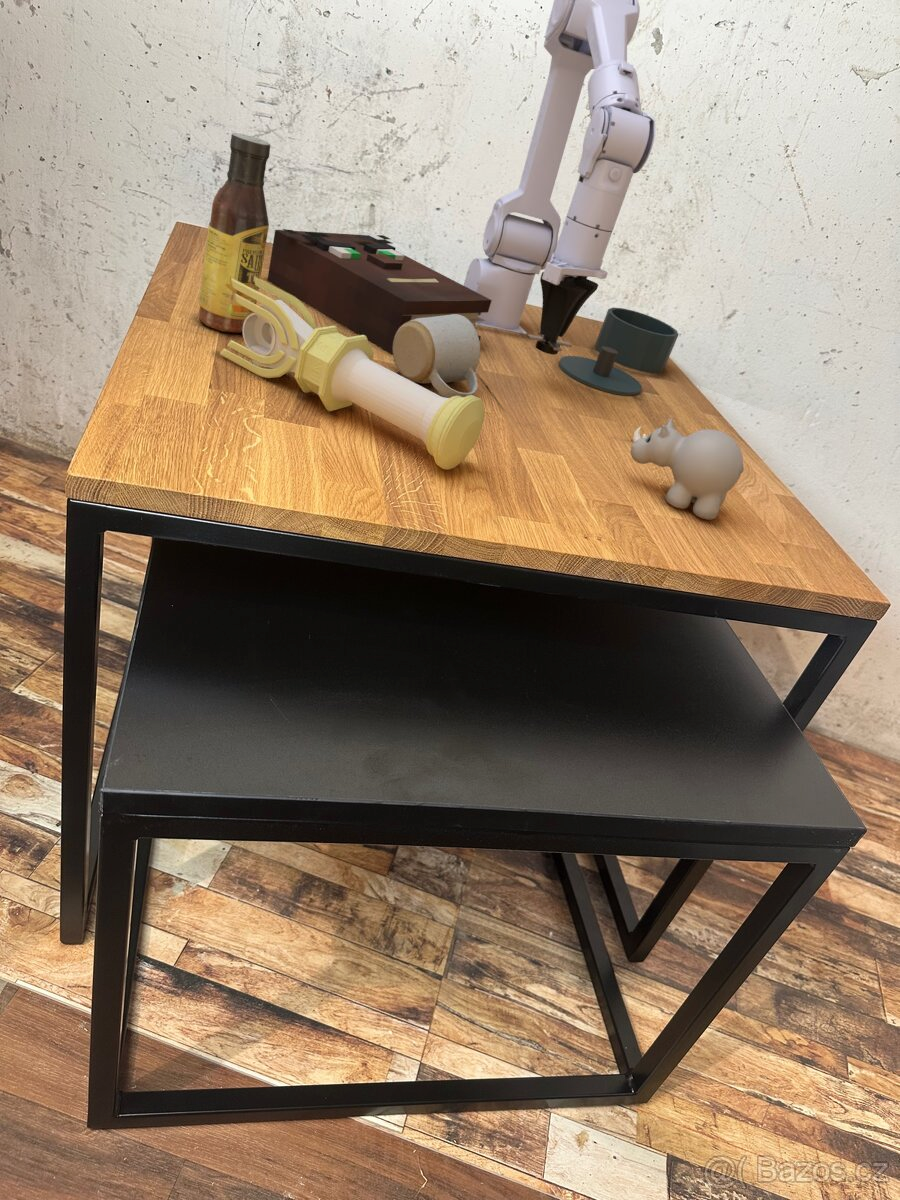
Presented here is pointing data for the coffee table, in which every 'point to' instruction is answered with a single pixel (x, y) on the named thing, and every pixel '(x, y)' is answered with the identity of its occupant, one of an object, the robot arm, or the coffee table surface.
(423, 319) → the ceramic mug
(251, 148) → the sauce bottle
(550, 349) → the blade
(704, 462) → the chubby cartoon animal
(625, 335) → the bowl
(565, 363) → the lid
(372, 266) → the dark brown wooden box
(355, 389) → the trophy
